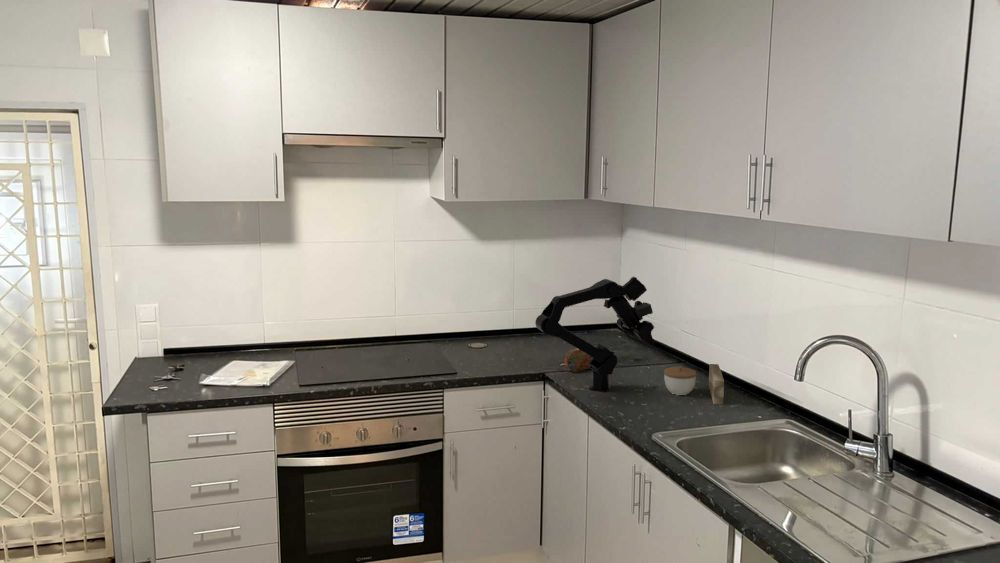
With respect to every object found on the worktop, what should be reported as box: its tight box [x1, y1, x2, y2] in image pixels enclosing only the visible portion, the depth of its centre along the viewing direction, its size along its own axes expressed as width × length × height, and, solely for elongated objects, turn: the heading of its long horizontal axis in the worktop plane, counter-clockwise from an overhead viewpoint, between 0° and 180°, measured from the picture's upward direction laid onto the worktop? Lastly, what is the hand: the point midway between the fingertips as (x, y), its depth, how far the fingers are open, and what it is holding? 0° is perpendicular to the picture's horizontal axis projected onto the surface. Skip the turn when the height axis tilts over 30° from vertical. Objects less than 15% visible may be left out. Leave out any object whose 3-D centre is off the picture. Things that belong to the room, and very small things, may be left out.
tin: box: [563, 348, 592, 373], centre depth 284 cm, size 15×3×8 cm, turn 129°
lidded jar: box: [663, 365, 697, 396], centre depth 255 cm, size 11×11×9 cm
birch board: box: [708, 363, 725, 405], centre depth 253 cm, size 3×20×8 cm, turn 169°
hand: (647, 342), depth 263 cm, fingers open, 9 cm apart
